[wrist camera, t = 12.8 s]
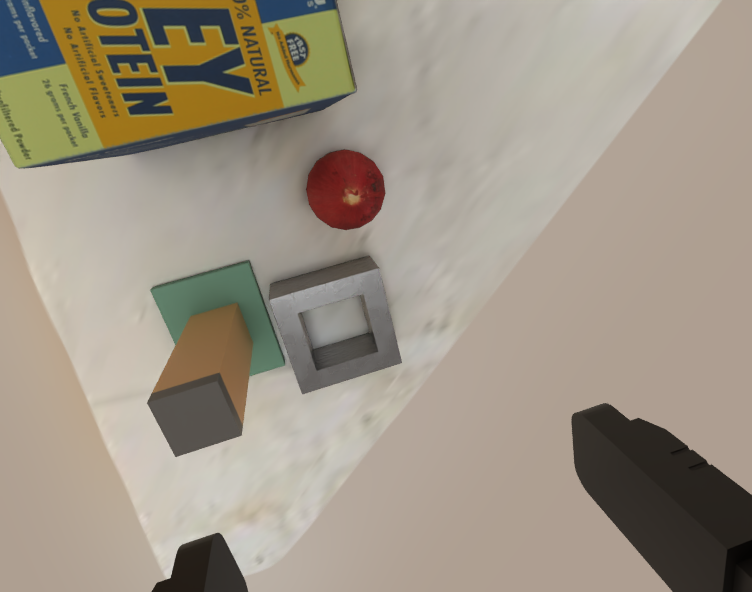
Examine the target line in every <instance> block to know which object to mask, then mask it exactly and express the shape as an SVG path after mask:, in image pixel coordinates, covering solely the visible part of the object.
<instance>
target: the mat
mask: <svg viewBox="0 0 752 592" xmlns="http://www.w3.org/2000/svg"><path fill="white" fill-rule="evenodd" d="M150 291H151V293H152V295H153V297H154V299H155V302H156V304H157V306H158V308H159V310H160V312H161V315H162V317H163V319H164V321H165V323H166V325H167V328H168V330H169V332H170V334H171V336H172V338H173V341H174V343H175V345H176V344H177V342H178V340H179V338H180V336H181V334H182V332H183V330H184V328H185V326H186V324H187V322H188V320H189V318H190V316H193V315H196V314H200V313H203V312H207V311H210V310H213V309H217V308H220V307H224V306H227V305H230V304H234V303H238V305H239V308H240V310H241V313H242V315H243V318H244V320H245V323H246V326H247V328H248V331H249V333H250V336H251V338H252V341H253V350H252V358H251V366H250V373H249V376H252V375H255V374H258V373H261V372H265V371H268V370H271V369H274V368H278V367H281V366H284V365H285V360H284V357H283V354H282V351H281V348H280V346H279V343H278V340H277V337H276V335H275V332H274V329H273V326H272V323H271V321H270V318H269V315H268V312H267V309H266V307H265V304H264V301H263V298H262V295H261V293H260V290H259V287H258V284H257V281H256V279H255V276H254V273H253V270H252V267H251V265H250V262H249V260H248V261H245V262H241V263H238V264H234V265H231V266H227V267H223V268H220V269H216V270H213V271H209V272H205V273H202V274H198V275H195V276H191V277H188V278H184V279H180V280H177V281H173V282H170V283H166V284H162V285H159V286H155V287H153V288H152V289H151V290H150Z"/></svg>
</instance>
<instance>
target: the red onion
mask: <svg viewBox="0 0 752 592" xmlns="http://www.w3.org/2000/svg"><path fill="white" fill-rule="evenodd" d="M306 191H307V196H308V201H309V205H310V207H311V208H312V210H313V211H314V213H315V214H316V216H317V217H318V218H319V219H320V220H322V221H323V222H325V223H326V224H327V225H329V226H330V227H332V228H338V229H343V230H349V229H354V228H360V227H362V226H363V225H365V224H367V223H369V222H370V221H372V220H373V219H374V217H375V216H376V215H377V213H378V212H379V211H380V210H381V207H382V203H383V200H384V196H385V187H384V179H383V175H382V174H381V172H380V171H379V169H378V167H377V166H376V164H375V163H374V162H373V161H372V160H370V159H369V158H367V157H366V156H364V155H363V154H361V153H359V152H355V151H350V150H340V151H335V152H330V153H328V154H327V155H325V156H324V157H322V158H321V159H319V160H318V161H317V162H316V163H315V165H314V167H313V168H312V170H311V171H310V173H309V175H308V181H307V188H306Z"/></svg>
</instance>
